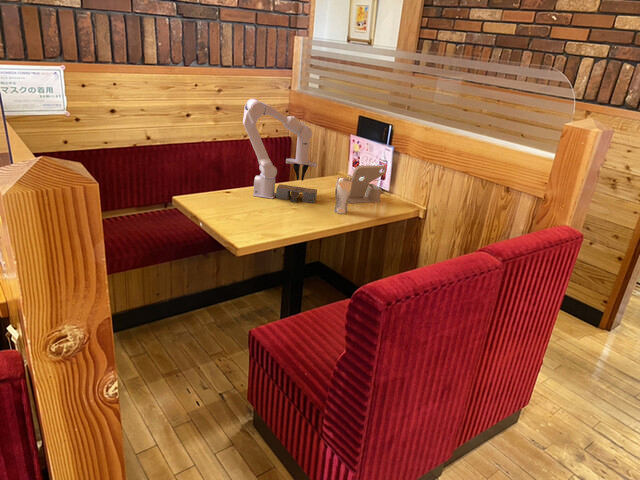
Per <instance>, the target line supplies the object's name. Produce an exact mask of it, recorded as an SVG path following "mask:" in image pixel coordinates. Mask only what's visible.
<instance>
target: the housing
mask: <svg viewBox="0 0 640 480" xmlns="http://www.w3.org/2000/svg"><path fill="white" fill-rule="evenodd" d="M275 190H276V191H275V193H276V195H275V199H279V200H286V201H287V200H289V198H291V191H292V192H300V193H301V194H302V201H301V202H302V203H307V204H315V202H316V201H317V194H318V189H317V188H316V189H315V188H311V187H310V188H308V187H301V186H296V185H295V186H294V185H289V184H288V185H287V184H281V183H280V184H278V185H277V187H276V189H275Z"/></svg>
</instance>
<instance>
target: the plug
mask: <svg viewBox="0 0 640 480" xmlns="http://www.w3.org/2000/svg"><path fill="white" fill-rule="evenodd" d="M300 195H301V194H300V192H292V191H291V192H290V203H292V204H297V201H298V197H300Z"/></svg>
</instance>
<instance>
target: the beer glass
mask: <svg viewBox="0 0 640 480" xmlns="http://www.w3.org/2000/svg"><path fill="white" fill-rule="evenodd" d="M351 179H352V178H349V177H346V176H345V177H342V176H340V177H337V179H336V183H335V190H334V192H335V193H334V196H335V206H334V208H333V212H334V213H335V214H339V215H346V214H348V212H349V211H348V204H349V203H348V201H349V198H350V194H351V189H352V180H351Z"/></svg>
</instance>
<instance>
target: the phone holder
mask: <svg viewBox="0 0 640 480" xmlns="http://www.w3.org/2000/svg"><path fill="white" fill-rule="evenodd" d="M381 170H382V171H381ZM386 172H387V168H386V166H385V165H382V164H381V165H357V166H356V167H355V168H354V170H353V173H352V177H351V178H350V179H351V180H352V189H351V194H350V198H349V201H348V204H352V205H353V204H354V205H355V204H371V203H381V195H382V188H381V187H379V186H377V184H374V183H371V182H374V181H375V180H377V179H379V178H381V177H382V176H384V175H385V174H386ZM361 177H364V179H362V180H360V178H361Z"/></svg>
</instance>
